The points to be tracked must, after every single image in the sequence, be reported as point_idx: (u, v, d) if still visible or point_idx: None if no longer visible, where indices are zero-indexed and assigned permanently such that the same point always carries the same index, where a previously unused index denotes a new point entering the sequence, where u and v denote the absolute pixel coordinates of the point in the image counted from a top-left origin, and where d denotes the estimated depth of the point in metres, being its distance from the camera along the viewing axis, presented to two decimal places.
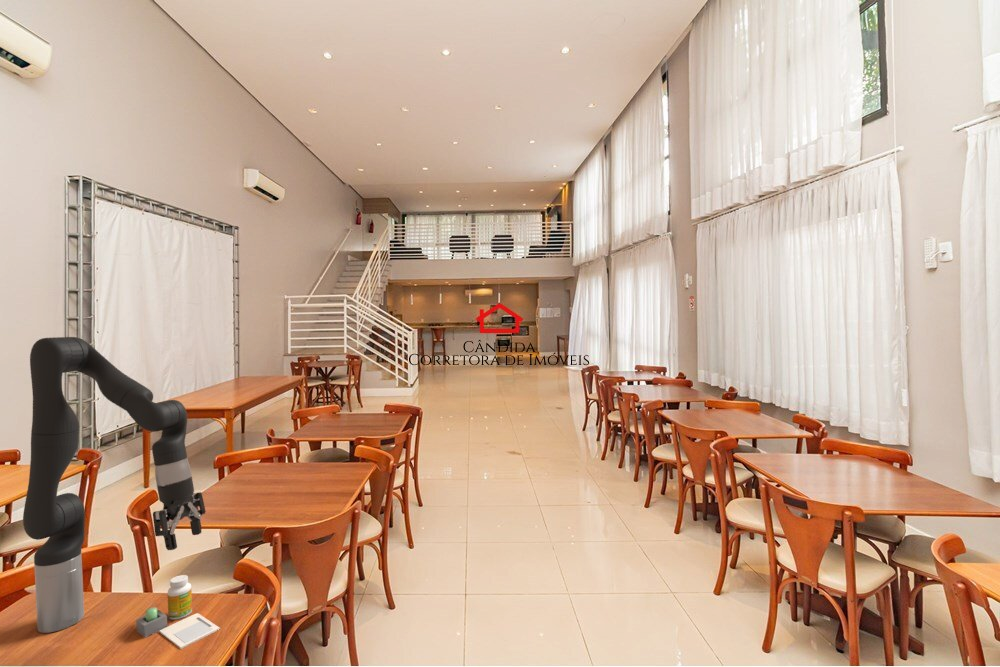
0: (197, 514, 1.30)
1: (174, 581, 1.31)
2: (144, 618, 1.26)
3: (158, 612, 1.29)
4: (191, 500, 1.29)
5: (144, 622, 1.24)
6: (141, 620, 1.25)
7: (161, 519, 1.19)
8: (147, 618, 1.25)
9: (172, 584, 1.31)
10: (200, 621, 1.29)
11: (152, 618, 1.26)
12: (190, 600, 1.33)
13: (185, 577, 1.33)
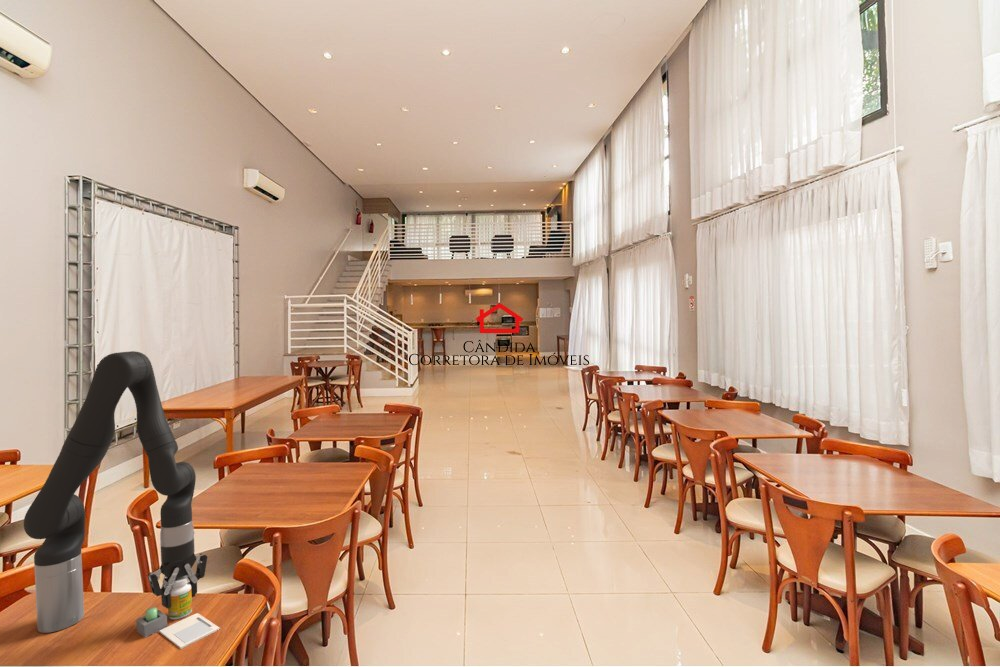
0: (192, 578, 1.34)
1: (174, 581, 1.31)
2: (144, 618, 1.26)
3: (158, 612, 1.29)
4: (192, 560, 1.34)
5: (144, 622, 1.24)
6: (141, 620, 1.25)
7: (152, 583, 1.27)
8: (147, 618, 1.25)
9: None
10: (200, 621, 1.29)
11: (152, 618, 1.26)
12: (190, 600, 1.33)
13: (185, 577, 1.33)
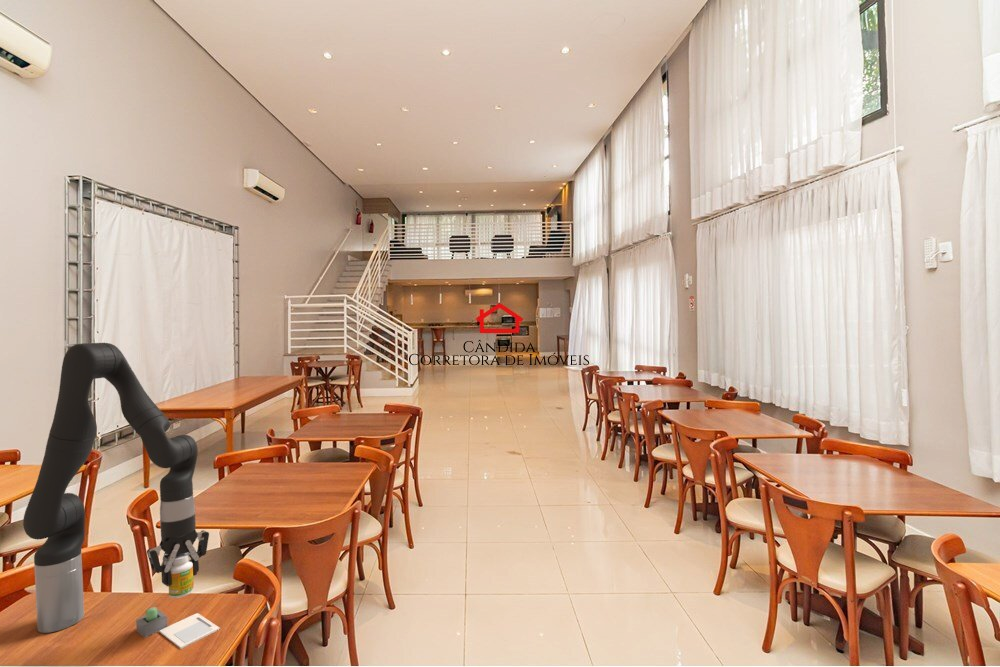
0: (194, 556, 1.29)
1: (175, 558, 1.26)
2: (144, 618, 1.26)
3: (158, 612, 1.29)
4: (193, 537, 1.29)
5: (144, 622, 1.24)
6: (141, 620, 1.25)
7: (152, 559, 1.21)
8: (147, 618, 1.25)
9: None
10: (200, 621, 1.29)
11: (152, 618, 1.26)
12: (192, 578, 1.28)
13: (186, 554, 1.28)
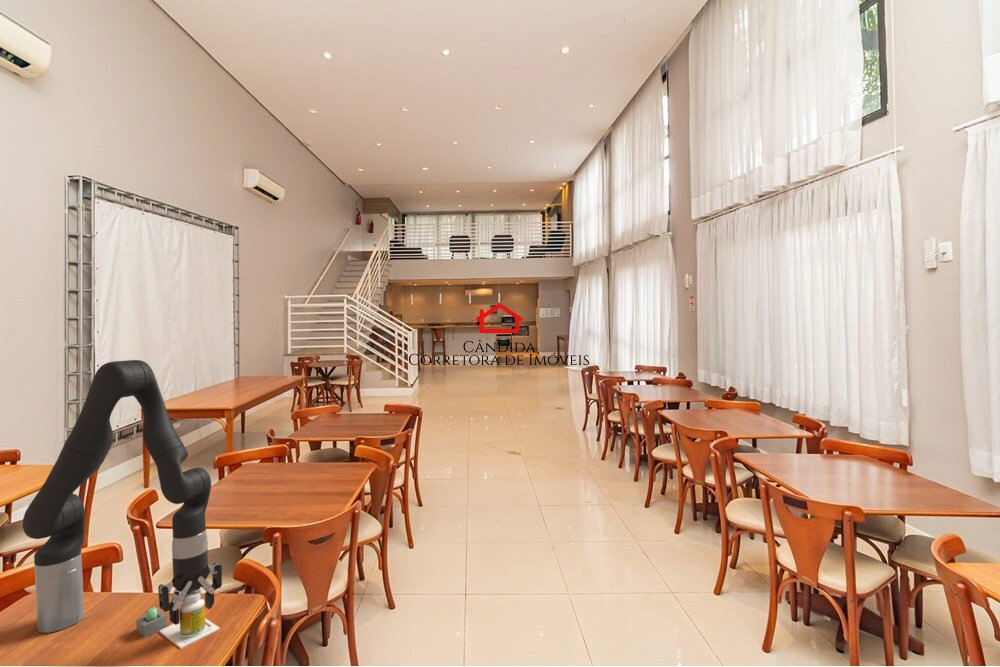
0: (209, 589, 1.26)
1: (186, 596, 1.23)
2: (144, 618, 1.26)
3: (158, 612, 1.29)
4: (206, 573, 1.26)
5: (144, 622, 1.24)
6: (141, 620, 1.25)
7: (162, 596, 1.18)
8: (147, 618, 1.25)
9: (184, 599, 1.22)
10: None
11: (152, 618, 1.26)
12: (204, 616, 1.25)
13: (198, 592, 1.25)
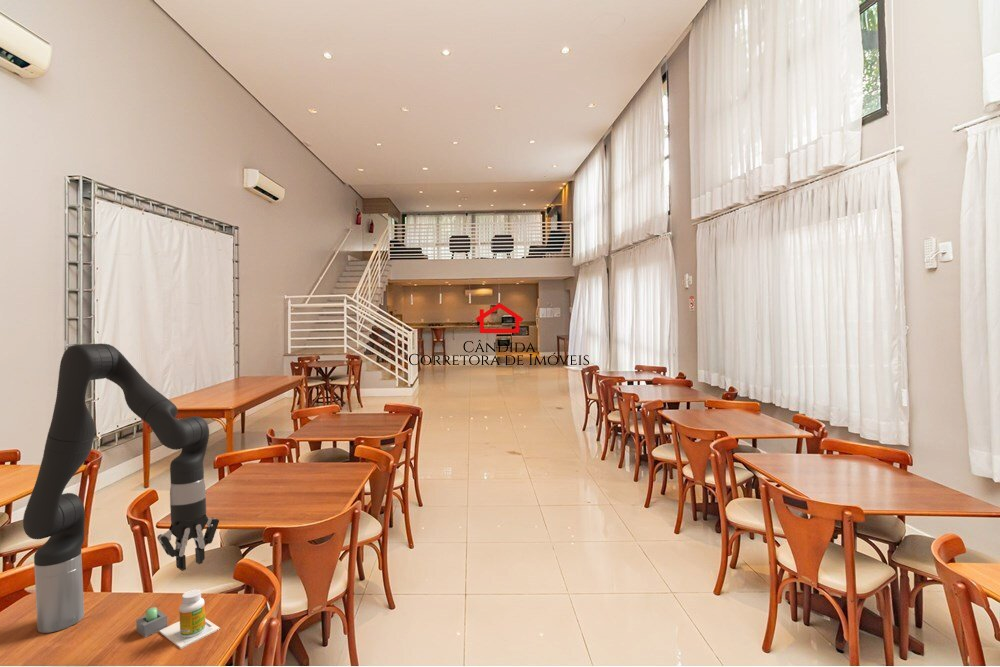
0: (200, 544, 1.25)
1: (186, 596, 1.23)
2: (144, 618, 1.26)
3: (158, 612, 1.29)
4: (203, 521, 1.25)
5: (144, 622, 1.24)
6: (141, 620, 1.25)
7: (164, 545, 1.18)
8: (147, 618, 1.25)
9: (184, 599, 1.22)
10: None
11: (152, 618, 1.26)
12: (204, 616, 1.25)
13: (198, 592, 1.25)
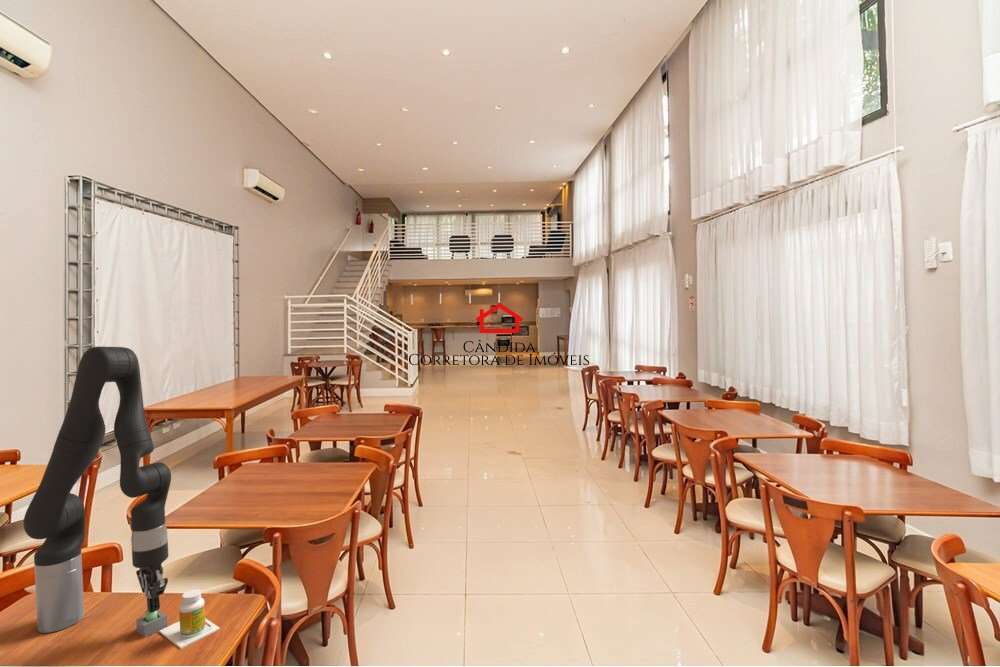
0: (147, 592, 1.25)
1: (186, 596, 1.23)
2: (144, 618, 1.26)
3: (158, 612, 1.29)
4: (151, 574, 1.24)
5: (144, 622, 1.24)
6: (141, 620, 1.25)
7: None
8: (147, 619, 1.25)
9: (184, 599, 1.22)
10: None
11: (152, 619, 1.26)
12: (204, 616, 1.25)
13: (198, 592, 1.25)
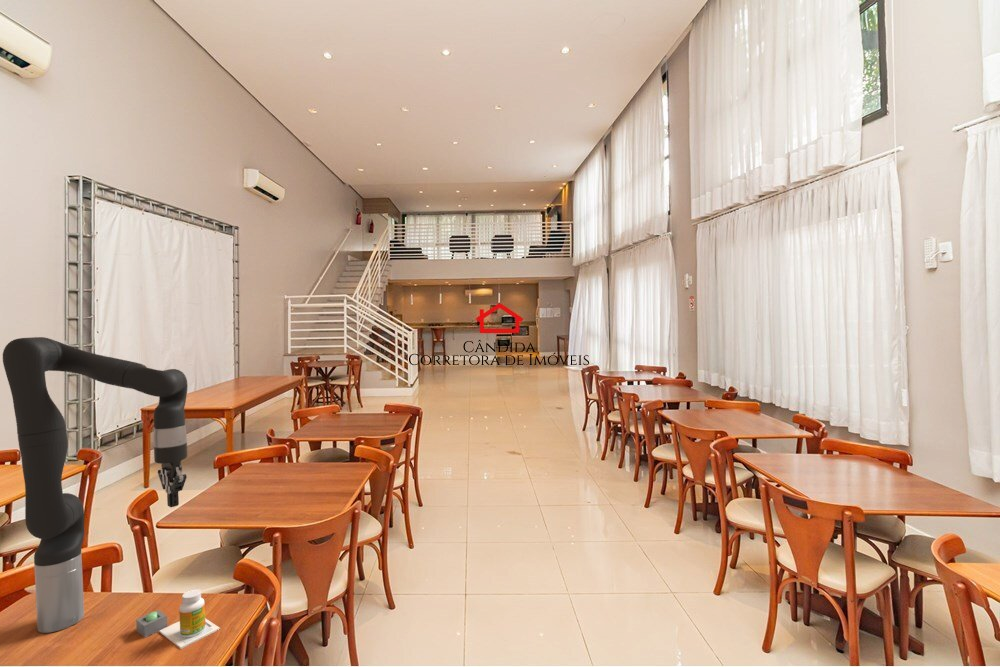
0: (167, 488, 1.34)
1: (186, 596, 1.23)
2: (144, 618, 1.26)
3: (158, 612, 1.29)
4: (171, 470, 1.32)
5: (144, 622, 1.24)
6: (141, 620, 1.25)
7: None
8: (147, 622, 1.25)
9: (184, 599, 1.22)
10: None
11: None
12: (204, 616, 1.25)
13: (198, 592, 1.25)
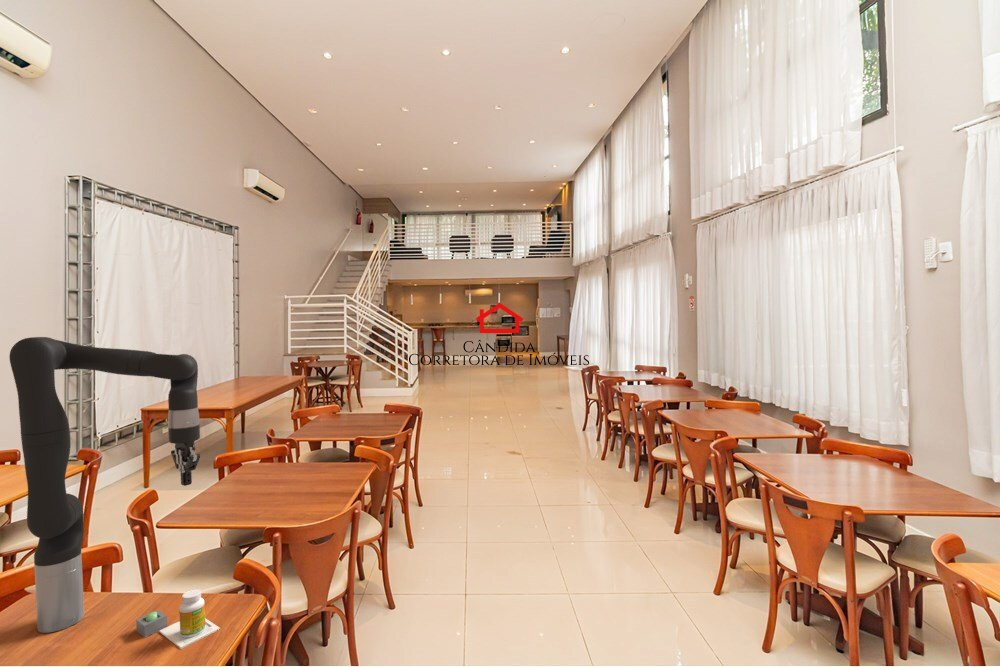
0: (181, 467, 1.40)
1: (186, 596, 1.23)
2: (144, 618, 1.26)
3: (158, 612, 1.29)
4: (185, 450, 1.39)
5: (144, 622, 1.24)
6: (141, 620, 1.25)
7: None
8: (147, 622, 1.25)
9: (184, 599, 1.22)
10: None
11: None
12: (204, 616, 1.25)
13: (198, 592, 1.25)
